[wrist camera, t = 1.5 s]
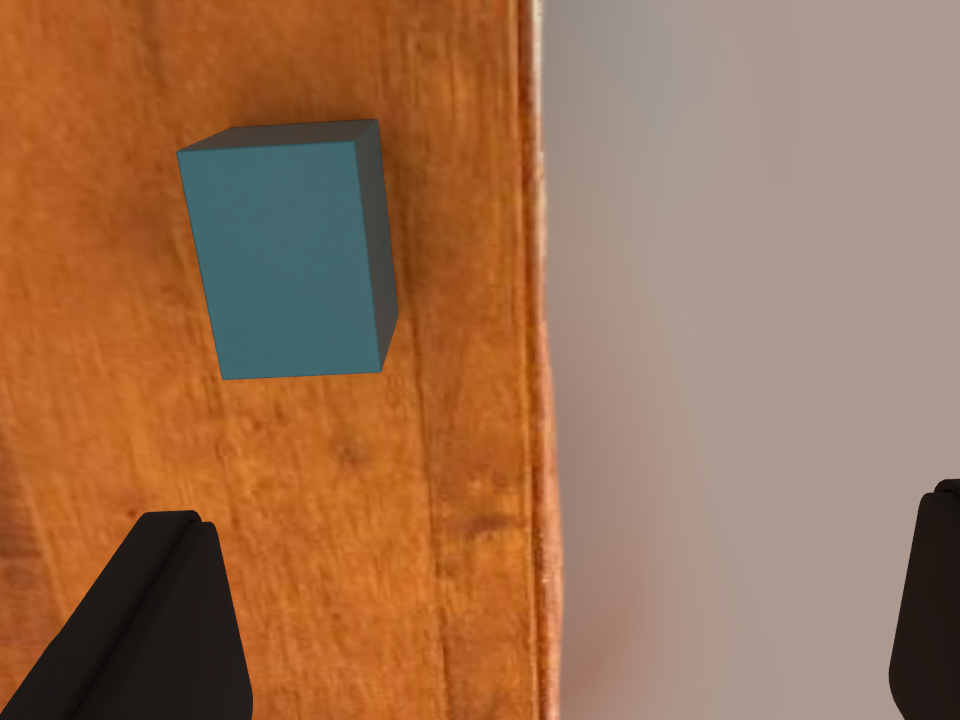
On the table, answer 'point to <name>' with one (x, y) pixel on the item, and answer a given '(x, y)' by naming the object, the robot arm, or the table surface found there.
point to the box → (293, 247)
